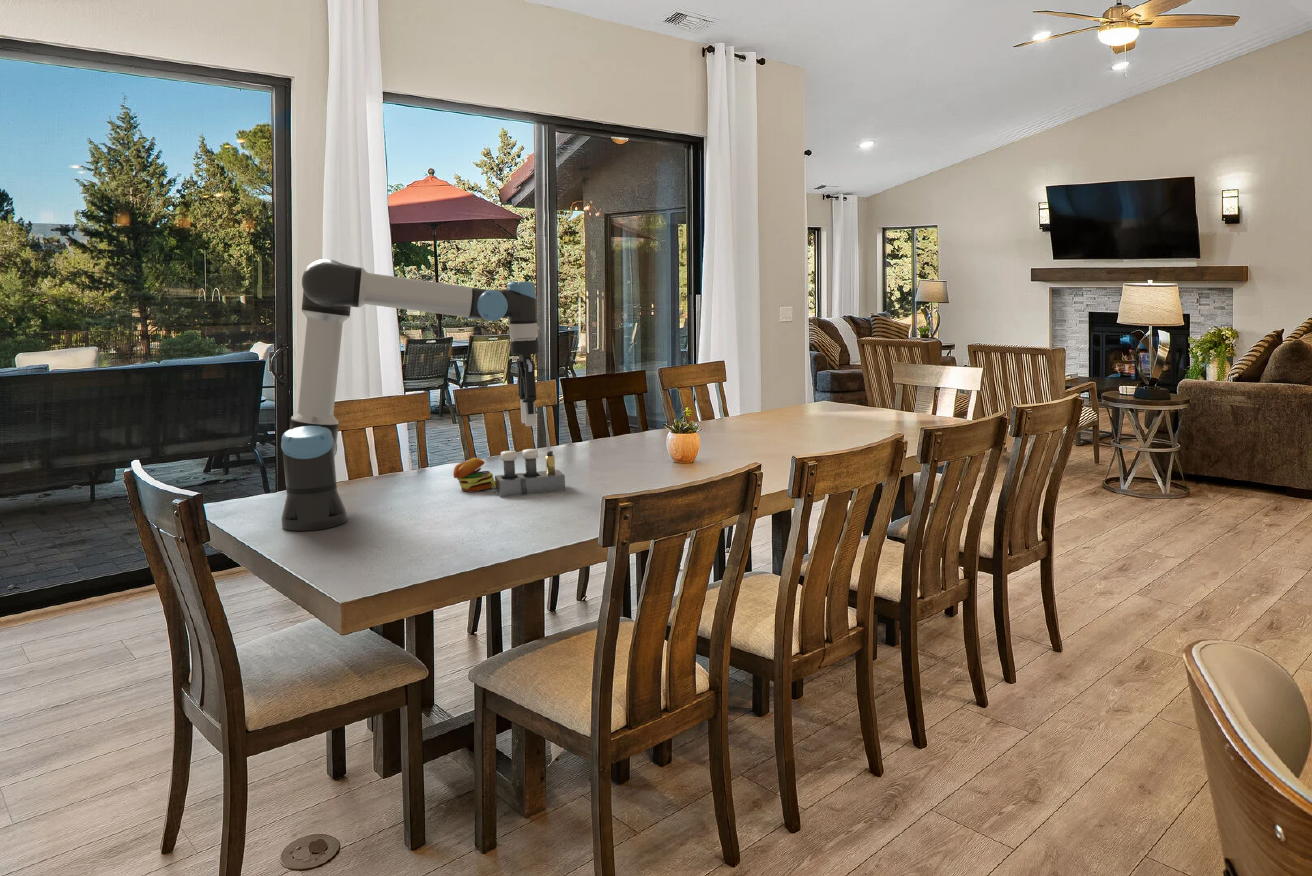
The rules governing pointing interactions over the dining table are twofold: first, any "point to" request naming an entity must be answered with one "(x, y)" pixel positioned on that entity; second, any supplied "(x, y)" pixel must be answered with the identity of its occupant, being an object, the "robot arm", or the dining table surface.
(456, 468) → the cheeseburger
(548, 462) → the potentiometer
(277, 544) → the dining table surface
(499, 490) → the mount
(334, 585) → the dining table surface
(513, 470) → the knob
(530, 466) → the knob
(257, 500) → the dining table surface
